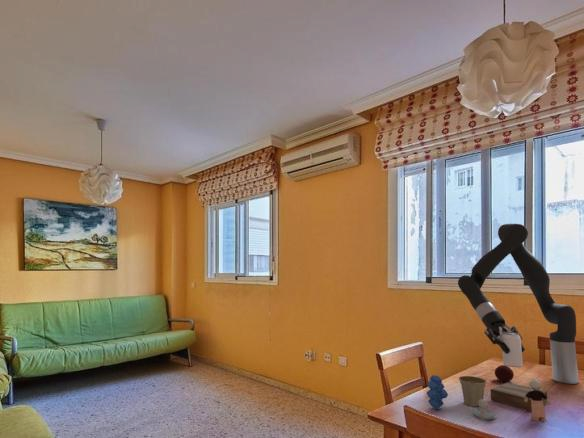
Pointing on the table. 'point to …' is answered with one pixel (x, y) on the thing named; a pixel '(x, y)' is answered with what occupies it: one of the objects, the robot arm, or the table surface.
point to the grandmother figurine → (536, 400)
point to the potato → (504, 373)
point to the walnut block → (513, 395)
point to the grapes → (436, 392)
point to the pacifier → (483, 411)
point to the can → (512, 349)
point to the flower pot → (472, 389)
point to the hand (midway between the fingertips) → (515, 351)
